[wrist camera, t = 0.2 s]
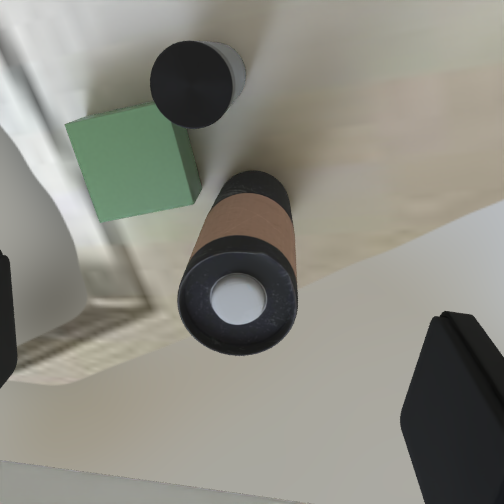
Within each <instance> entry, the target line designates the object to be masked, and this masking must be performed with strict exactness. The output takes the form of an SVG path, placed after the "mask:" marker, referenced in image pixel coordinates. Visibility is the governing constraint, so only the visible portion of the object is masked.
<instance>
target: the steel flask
mask: <svg viewBox="0 0 504 504" xmlns="http://www.w3.org/2000/svg"><path fill="white" fill-rule="evenodd" d="M245 81H246V70H245V66H244V63H243V60H242V58H241V57H240V55H239V54H238V53H237V52H236V51H235V50H234V49H233V48H232V47H230V46H228V45H226V44H223V43H219V42H203V41H182V42H178V43H175V44H173V45H171V46H169V47H168V48H166V49H165V50H164V51H163V52H162V53H161V54H160V55H159V56H158V58H157V59H156V61H155V63H154V65H153V68H152V71H151V77H150V88H151V94H152V97H153V100H154V102H155V104H156V106H157V108H158V109H159V111H160V112H161V113H162V114H163V115H164V117H166V118H167V119H168V120H169V121H171V122H172V123H174V124H176V125H178V126H181V127H184V128H189V129H199V128H204V127H207V126H209V125H211V124H213V123H215V122H216V121H218V120H219V119H220V118H221V117H222V116H223V114H224V113H225V112H226V111H227V110H228V108H229V107H230V106H231V105H232V104H233V102H234V101H235V100H236V99H237V97H238V96H239V95H240V94H241V92H242V90H243V88H244V85H245Z"/></svg>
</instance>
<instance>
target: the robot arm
mask: <svg viewBox="0 0 504 504" xmlns="http://www.w3.org/2000/svg"><path fill="white" fill-rule="evenodd" d="M16 364H17V345H16V334H15V320H14V308H13V296H12V284H11V272H10V262H9V259H8V257H7V256H6V255H3V254H2V252H1V250H0V388H1V387H2V386H3V384H4V383H5V382H6V381H7V380H8V378H9V377H10V376H11V375H12V373H13V372H14V370H15V367H16ZM400 425H401V430H402V433H403V436H404V439H405V442H406V445H407V448H408V452H409V455H410V458H411V461H412V464H413V467H414V470H415V473H416V477H417V480H418V483H419V486H420V489H421V492H422V495H423V499H424V502H425V504H504V357H503V356H502V354H501V353H500V352H499V350H498V349H497V347H496V346H495V345H494V343H493V342H492V341H491V339H490V338H489V336H488V335H487V334H486V332H485V331H484V329H483V328H482V327H481V326H480V324H479V323H478V322H477V320H476V319H475V317H474V316H473V315H470V314H463V313H456V312H449V311H444V312H442V314H441V315H440V317H438V316H435V317H433V318H432V320H431V322H430V325H429V328H428V331H427V334H426V337H425V341H424V343H423V347H422V349H421V352H420V356H419V359H418V362H417V365H416V368H415V371H414V374H413V377H412V380H411V383H410V386H409V389H408V392H407V395H406V399H405V401H404V404H403V407H402V411H401V416H400ZM0 504H310V503H302V502H296V501H289V500H282V499H276V498H268V497H261V496H255V495H248V494H241V493H234V492H227V491H219V490H213V489H205V488H198V487H191V486H184V485H177V484H170V483H163V482H155V481H149V480H141V479H133V478H127V477H120V476H113V475H106V474H98V473H91V472H84V471H77V470H69V469H62V468H55V467H47V466H40V465H33V464H25V463H18V462H10V461H3V460H0Z"/></svg>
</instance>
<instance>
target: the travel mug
mask: <svg viewBox="0 0 504 504" xmlns="http://www.w3.org/2000/svg"><path fill="white" fill-rule="evenodd" d="M177 303H178V310H179V314H180V317H181V320H182V322H183V324H184V326H185V327H186V329H187V330H188V331H189V333H190V334H191V335H192V336H193V337H194V338H195V339H196V340H197V341H198V342H200V343H201V344H203V345H204V346H206V347H208V348H210V349H212V350H214V351H217V352H219V353H223V354H228V355H235V356H245V355H252V354H257V353H260V352H263V351H265V350H267V349H270V348H272V347H273V346H275V345H276V344H278V343H279V342H280V341H281V340H282V339H283V338H284V337H285V336H286V335H287V334H288V332H289V331H290V329H291V328H292V326H293V324H294V321H295V318H296V315H297V309H298V292H297V272H296V252H295V234H294V227H293V220H292V214H291V208H290V202H289V198H288V195H287V192H286V190H285V188H284V187H283V185H282V184H281V183H280V182H279V181H278V180H277V179H276V178H274V177H273V176H271V175H269V174H267V173H264V172H260V171H246V172H242V173H239V174H237V175H235V176H234V177H232V178H231V179H230V180H228V182H227V183H226V184H225V185H224V186H223V188H222V189H221V191H220V193H219V195H218V197H217V199H216V200H215V202H214V204H213V206H212V208H211V210H210V212H209V214H208V215H207V217H206V219H205V222H204V224H203V227H202V230H201V232H200V235H199V237H198V240H197V242H196V245H195V247H194V250H193V252H192V255H191V257H190V260H189V262H188V265H187V267H186V270H185V272H184V275H183V277H182V280H181V283H180V286H179V290H178V299H177Z"/></svg>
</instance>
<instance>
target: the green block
mask: <svg viewBox="0 0 504 504" xmlns="http://www.w3.org/2000/svg"><path fill="white" fill-rule="evenodd" d="M65 127H66V130H67V133H68V136H69V138H70V141H71V144H72V147H73V149H74V152H75V155H76V158H77V161H78V163H79V166H80V169H81V172H82V174H83V177H84V180H85V183H86V185H87V188H88V191H89V194H90V197H91V199H92V202H93V205H94V208H95V210H96V213H97V216H98V219H99V222H100V223H101V222H106V221H111V220H116V219H121V218H126V217H131V216H137V215H142V214H147V213H152V212H157V211H162V210H167V209H173V208H178V207H183V206H188V205H193V204H194V203H195V201H196V199H197V197H198V196H199V194H200V192H201V190H202V186H201V182H200V179H199V175H198V171H197V167H196V163H195V160H194V156H193V152H192V148H191V145H190V141H189V137H188V133H187V129H186V128H184V127H181V126H178V125H176V124H174V123H172V122H171V121H169V120H168V119H167V118H166V117H164V115H163V114H162V113H161V112H160V111H159V109H158V108H157V106H156V104H155V102H154V101H152V102H147V103H143V104H138V105H134V106H130V107H125V108H121V109H116V110H112V111H108V112H103V113H99V114H94V115H90V116H86V117H83V118H80V119H78V120H75V121H72V122H69V123H67V124H65Z"/></svg>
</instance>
